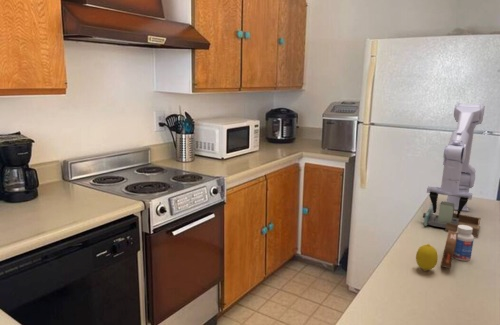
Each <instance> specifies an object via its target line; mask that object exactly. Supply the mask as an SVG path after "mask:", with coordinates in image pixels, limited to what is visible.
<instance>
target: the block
mask: <svg viewBox="0 0 500 325" xmlns="http://www.w3.org/2000/svg"><path fill="white" fill-rule="evenodd" d="M454 206H455V203H449V202H444V201H440V204H439V208H438V214H437V215H438V222H439V223H444V224H447V223H452V220H453V213H454V212H455V210H454Z"/></svg>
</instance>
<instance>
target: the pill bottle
mask: <svg viewBox="0 0 500 325" xmlns="http://www.w3.org/2000/svg"><path fill="white" fill-rule="evenodd" d="M472 231H473V228H472V227H470V226H467V225H458V228H457V233H458V236H457V242H456V247H455V251H454V254H453V257H452V259H453V258H454V259H455V260H458V261H462V262H463V261H465V262H466V261H467V262H468V261H470V260H471V258H472V252H473V247H474V240H475V237H473V235H472Z"/></svg>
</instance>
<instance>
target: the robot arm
mask: <svg viewBox="0 0 500 325" xmlns="http://www.w3.org/2000/svg"><path fill="white" fill-rule="evenodd" d="M453 108H454V109H453V117H454V120H455V122H456V123H457V124H456V125H457V126H456V129H455V130H454V131H452V132H451V135H450V138H449V141H448V144H447V145H445V147H444V149H443V156H442V157H443V162H442V166H443V169H442V170H443V171H442V178H441V185H440V187H438V186H427V188H426V193H427V194H429V195H428V196H429V198H430V202H431V205H432V206H433V214H436V213H437V209H438V208H437V205H438V199H439V198H438V197H439V195H442V196H447V198H446V201H443V202H449V203H455V206H454V211H455V210H457V213H456V214H457V218H459V215H460V214H461V212H462V211H465V212H469V211H470V210H469V208H468V206H467V205H468V201H469V200H470V201H471V200H472V199H473V193H471V192H470V189H472V188H474V186H475V185H474V184H475V181H476V169H475V168H474V167H473V166H472V165H471V164H470V159H471V153H472V146H473V141H474V140H473V139H474V134H475V129H476V127H477V126H478V125H482V124H483V120H484V116H485V104H484V103H465V102H464V103H463V102H457V103H455V105H454V107H453Z"/></svg>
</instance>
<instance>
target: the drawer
mask: <svg viewBox="0 0 500 325" xmlns="http://www.w3.org/2000/svg"><path fill="white" fill-rule="evenodd" d="M438 215H439V214H436V213H433V206H432V204H431V205H430V207H429V208H428V209H427V212H423V214H422V218H424V222H423V225H424V226H425V227H427V226H428V225H429V226H432V227H439V228H442V229H443V228H444V229H446V225H447V224H444V223H439V222H438ZM458 222H459V219H456V218H453V220H452V224H457V225H458Z"/></svg>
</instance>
